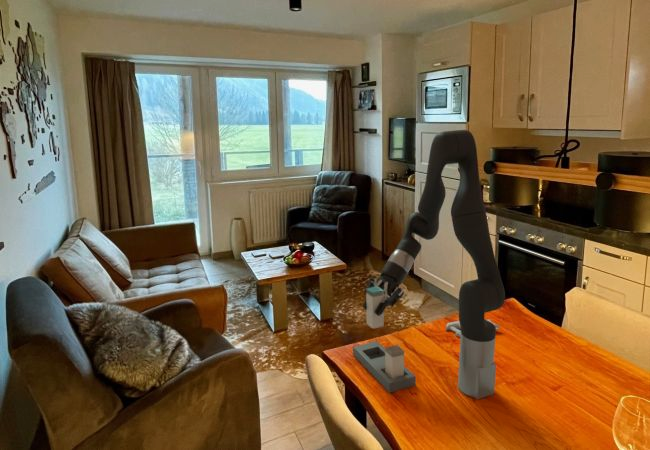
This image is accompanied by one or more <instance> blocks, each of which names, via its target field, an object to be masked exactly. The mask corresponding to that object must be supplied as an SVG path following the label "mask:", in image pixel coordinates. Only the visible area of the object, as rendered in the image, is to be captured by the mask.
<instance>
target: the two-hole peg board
mask: <svg viewBox="0 0 650 450" xmlns="http://www.w3.org/2000/svg"><path fill="white" fill-rule="evenodd" d="M352 353H353V354H352V355H353V357H354V358H356V360H357V361H358V362H359V363H360V365H362V366H363V367H364V368H365V369H366V370H367V371H368V372H369V374H371V375H372V377H373V378H375V380H376V381H377V382H378V383H379V384H380V385H381V386H382V387H383V388H384V389H385V390H386V392H387V393H394V392H397V391H401V390H403V389H408V388H410V387H411V388H412V387H413V386H416V383H417V381H416V380H417V379H416V378H417V376H416V375H415V374H414V373H413V372H412V371H411V370H409V369H408V368H407V367H406V366H405V350H404V349H403V348H401V346H399V345H398V344H394V345H389V346H385V347H384V346H383V344H381V343H379V341H377V340H375V341H372V342H367V343H363V344H358V345H354V346H352Z"/></svg>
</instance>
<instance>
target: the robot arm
mask: <svg viewBox="0 0 650 450" xmlns="http://www.w3.org/2000/svg"><path fill="white" fill-rule="evenodd" d="M474 137H475V136H474V135H473V134H472V131H470V130H467V129H458V130H456V129H455V130H446V131H445V130H444V131H440V132H438V133H437V134H436V135H434V137H433V139H432V142H431V146H430V150H429V157H428V163H427V170H426V177H425V182H424V183H425V184H424V187H423V190H422V194H421V196H420V199H419V202H418V206H417V211H415V212H412V213H411V214H409V216H408V217H407V220H406V224H405V229H404V233H403V235H402V237H401V240H400V241H399V242H398V244H397V247H396V248H395V249H394V251H393V252H392V253H391V254H390V256H389V258H388V259H387V261H386V263H385V264H384V266H383V267H382V269H381V271H380V276H378V277H377V278H374V277H372V276H371V277H369V279H368V281H367V285H366V286H365V289H364V294H365V295H366V288H371V287H376V286H378V287H379V288H381V289H382V290H384V297H383V298H382V303H381V302H380V304H379V305H378V307H377V309H376V310H375V314H376V315H378V316H380V315H381V314H382V313H383V311H385V309H386V308H387V307H393V306H395V304H397V302H398V301H399V300H400V299H401V298H402V297H403V296H404V295H405V291H404V290H403V289H402V288H400V285H402V283H403V282H404V281H405V279H406V277H407V276H408V274H409V271H410V270H411V268H412V266H413V264H414V262H415V260H416V258H417V256H418V255H419V253H420V252H421V250H422V244H421V242H420V241H418V240H417V239H416V238H415V237H414V236H413V235H412V234H414V235H416V236H418V237H420V238H422V239H424V240H426V241H430V240H433V239H434V238H435V237H436V236H437V234H438V233H439V230H440V229H439V227H440V212H441V210H442V207H443V205H444V201H445V200H446V199H445V198H446V193H447V192H446V188H445V184H444V181H443V178H442V174H443V173H442V172H443V171H444V168H445V167H446V165H454V164H457V165H458V169H459V183H458V187H457V191H456V193H455V196H454V198H453V201H452V203H451V209H450V216H451V221H452V227H453V233H454V235H455V237H456V239H457V240H458V241H459V243H460V245H461V246H462V247H463V249H464V250H465V251H466V252H467V253H468V254H469V256H470V257H471V259H472V262H473V263H474V267H475V271H476V276H477V279H473V280H468V281H466V282H464V283H462V285H460V289H459V291H458V321H459V322H460V326H461V329H460V331H461V337H460V339H459V340H460V342H459V343H460V345H459V358H458V359H459V360H458V378H457V379H458V380H457V388H458V389H459V391H460V392H461V393H463V394H465V395H467V396H469V397H473V398H474V399H476V400H480V399H483V398H486V397H489V396H492V395H495V388H496V387H495V386H496V374H497V373H496V372H497V363H495V362H494V361H495V351H496V349H495V348H496V338H497V337H496V336H497V330H496V327H495V326H494V324H495V323H494V324H492V323H493V322H492V321H491V322H492V323H491V322H489V321H487V320H488V319H485V315H486V313H490V312H493V311H496V310H500V309H501V308H503V306H504V305H505V300H506V293H505V292H506V291H505V287H504V283H503V281H502V277H501V273H500V270H499V267H498V264H497V260H496V256H495V253H494V248H493V243H492V239H491V234H490V227H489V223H488V216H487V212H486V207H485V203H484V198H483V193H482V186H481V180H480V175H479V174H480V172H479V170H480V169H479V160H478V151H477V149H478V148H477V144H476V140H475V138H474ZM362 308H363V309H364V310H367V303H366V299H365V300H364V301H363V304H362Z"/></svg>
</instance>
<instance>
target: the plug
mask: <svg viewBox="0 0 650 450" xmlns="http://www.w3.org/2000/svg"><path fill="white" fill-rule="evenodd" d="M365 289H366V294H365V295H366V298H365V300H366V303H367V310H366V314H365V315H366V324H367V325H368V326H369V327H370V328H371V329H373V330H374V329H377V328H382V327H384V326H385V323H384V322H385V320H384V318H385V317H384V316H385V315H384V314H385V313H384V311H385V310H384V311H383V313H382V314H381V315H380V316H378V315H376V314H375V310H376V309H377V307H378V305H379V304H380V302H381V303H382V298H383V297H384V290H382V289H381V288H379V287H378V286H376V287H371V288H366V287H365Z"/></svg>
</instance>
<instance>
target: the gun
mask: <svg viewBox="0 0 650 450" xmlns="http://www.w3.org/2000/svg"><path fill="white" fill-rule="evenodd" d="M486 320H487V321H489V322H491V323H492V324H494V326H495V327H496V331H497V330H500V329H501V328H500V327H501V326H500V325H499V324H496V323H494V322H492V319H486ZM445 331H452V332H454V333H455V334H454V336H455V337H458V338H461V326H460V322H459V320H456V321H451V322H448V323H446V326H445Z"/></svg>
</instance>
